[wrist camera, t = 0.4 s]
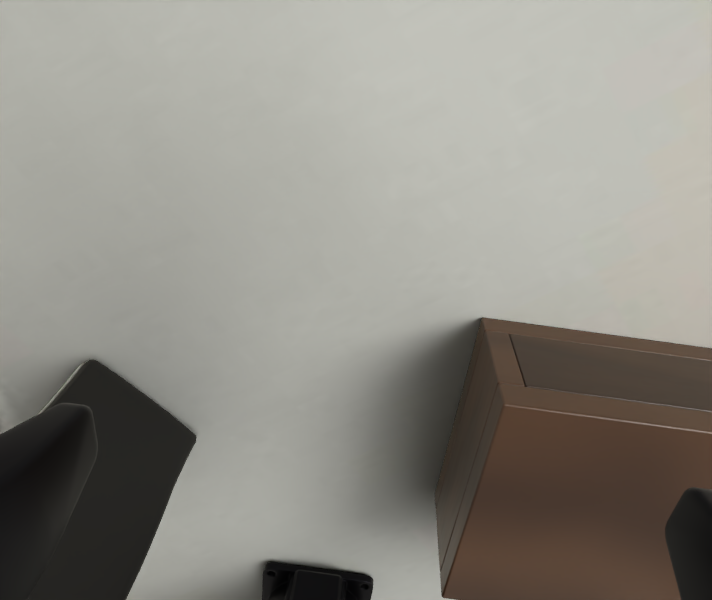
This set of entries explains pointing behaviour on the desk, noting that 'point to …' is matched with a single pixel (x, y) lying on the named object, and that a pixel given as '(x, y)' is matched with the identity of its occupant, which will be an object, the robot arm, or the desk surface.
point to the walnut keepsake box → (570, 464)
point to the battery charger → (115, 488)
